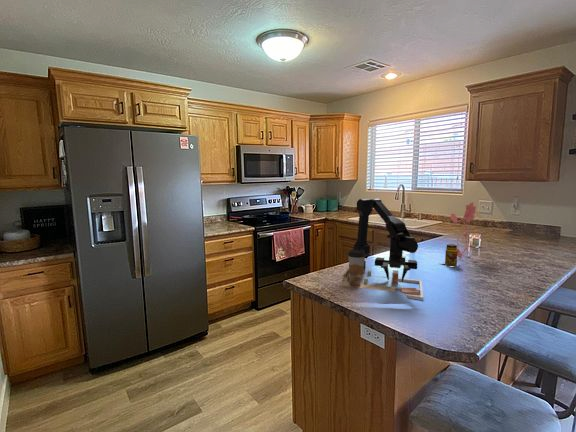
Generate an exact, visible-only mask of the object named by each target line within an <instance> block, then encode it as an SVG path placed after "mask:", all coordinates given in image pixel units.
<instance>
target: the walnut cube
mask: <svg viewBox="0 0 576 432" xmlns="http://www.w3.org/2000/svg"><path fill="white" fill-rule="evenodd" d="M348 280H349V281H348V282H349V283H350V286H359V287H360V283H361V282H360V281H361V280H360V274H349V279H348ZM350 286H349V287H350Z"/></svg>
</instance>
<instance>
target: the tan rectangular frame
mask: <svg viewBox="0 0 576 432" xmlns="http://www.w3.org/2000/svg"><path fill="white" fill-rule="evenodd" d="M349 276H350V273H349V267H348V268H346V269H345V271H344V272H343V276H342V277H343V278H342V280H343V281H347V282H349V279H347V278H348V277H349ZM364 276H366V277H371V275H368V274H363V277H364ZM391 276H392V277H391V280H390V284H389V283H387V284H386V283H383V286H393V285H394V284H396V285H398V284H399V281H398V278H399V270H392V273H391ZM373 277H375V278H380V276H379V275H373ZM382 278H386V279H387V276H382ZM360 283H364V280H363V281H362V280H360ZM368 284H373V282H371V281H368ZM374 285H382V283H379V282H374Z"/></svg>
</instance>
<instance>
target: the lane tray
mask: <svg viewBox="0 0 576 432" xmlns="http://www.w3.org/2000/svg"><path fill="white" fill-rule="evenodd" d="M367 275H370V276H372V270H369V269H367ZM368 282H369V279H368V278H367V277H363V284H369V283H368ZM398 282H402V277H401V278H400V277H398ZM403 282H404V283H411V282H412V283H414V284H419V289H418V288H416V289H417V290H418V291H419V296H418V295H410V294H405V293H404V295H405V296H406V298H407V299H415V300H420V301H423V300H424V292H423V291H424V290H423V281H422V279H412V278H411V279H409V278H404V279H403ZM403 282H402V283H403ZM399 288H404V286H403V287H402V286H400V287H399Z"/></svg>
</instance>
